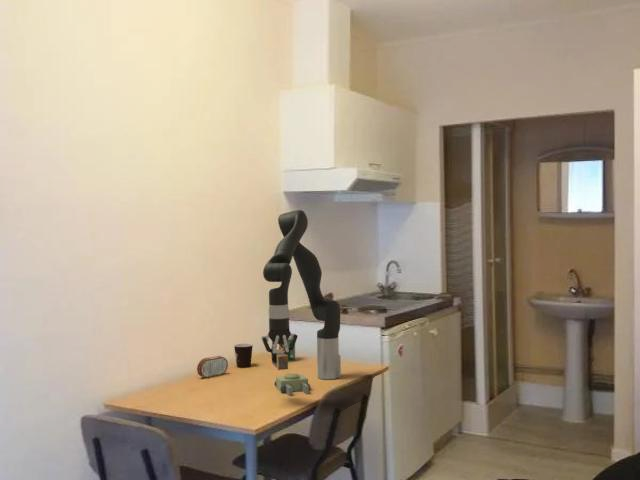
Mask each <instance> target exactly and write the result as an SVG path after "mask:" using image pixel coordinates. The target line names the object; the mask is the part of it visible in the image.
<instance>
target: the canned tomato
mask: <svg viewBox="0 0 640 480" xmlns="http://www.w3.org/2000/svg"><path fill="white" fill-rule="evenodd" d="M290 337H291V336H290ZM290 337H289V338H288V340H287V344H288V347H289V345H290V342H291V338H290ZM278 349H281V350H282V351H283V352H285V351H284V347H283V345H282V344H281V343H280V344H278ZM295 361H296V345H295V346H294V349H293V350H291V351H289V360H288V363H293V362H295Z"/></svg>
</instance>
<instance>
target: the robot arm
mask: <svg viewBox="0 0 640 480" xmlns="http://www.w3.org/2000/svg"><path fill="white" fill-rule="evenodd" d="M277 220H278V226H279V229H280V233H281V234H282V236H283V238H282V239H281V240H280V241H279V242H278V244H277V246H276V247H275V250H274V253H273V255H272V256H271V257H270V258H269V260H268V261H267V262H266V263H265V265H264V268H263V271H262V275H263V278H264V280H265V281H266V282H270V283H276V282H277V283H280V286H279V287H275V288H271V289H270V290H269V291H268V329H269V330H268V333H267V334H266V335H264V336H262V337H261V340H262V343H263V345H264V347H265V351H266V352H268V353H271V363H272V362H273V363H276V350H277V349H278V345H279V344H280V343H281V344H282V345H283V347H284V351H285V352H284V353H285V354H287V355H288V360H289V351H291V350H293V349H294V346H295V347H296V343H297V342H296V341H297V339H298V335H297V334H296V333H292V332H291V331H290V310H289V309H290V308H289V296H288V295H289V287H290V283H291V279H292V274H293V269H292V266H291V265H290V264H291V262H292V260H294V263H295V266H296V269H297V271H298V274H299V276H300V279H301V281H302V284H303V286H304V288H305V292H306V294H307V298H308V301H309V306H310V308H311V312H312V316H313V317H314V318H315V319H316V320H317V321H319V322H324V324H323V325H324V326H323V328H322V329H321V328H320V329H318V330H317V332H316V353H317V354H316V356H317V357H316V359H317V360H316V361H317V362H316V363H317V378H318V379H320V380H335V379H338V378H339V379H340V378H341V377H342V372H341V371H342V369H341V366H342V365H341V354H339V353H340V351H339V350H340V349H339V348H340V347H339V346H340V345H339V340H340V339H339V335H340V330H341V306H340V304H339V302H338V301H336V300H331V299H325V297H324V296H323V293H322V290H321V281H322V274H323V273H322V268H321V265H320V263H319V260H318V258H317V256H316V254H314V253H313V252H312V251H311V250H310V249H308V247H306V246H305V245H303V244H302V243H301V242H300V241H301V239H302V238H303V236H304V235H305V233H306V231H307V229H308V225H309V223H308V220H309V219H308V216H307V215H306V212H305V211H304V210H302V209H296V210H292V211H288V212H284V213H280V215H279V216H278V219H277ZM289 337H290V338H291V342H290V345H289V347H288V344H287V340H288V338H289ZM269 339H270V340H271V342H272V343H271V346H270V345H269V343H268V342H269Z"/></svg>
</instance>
